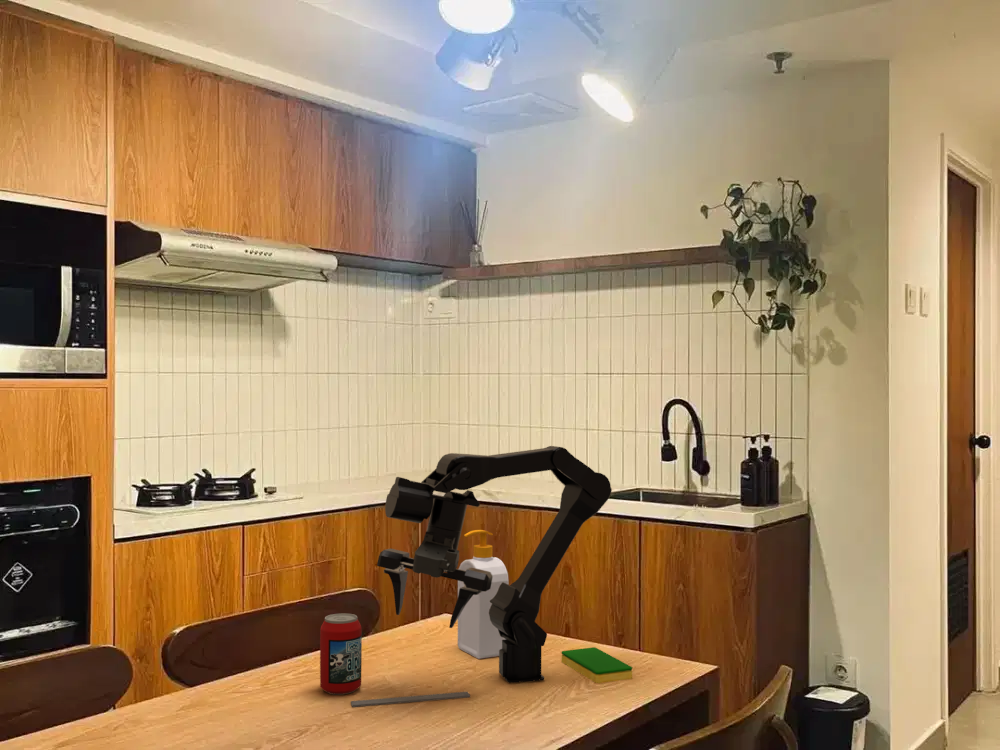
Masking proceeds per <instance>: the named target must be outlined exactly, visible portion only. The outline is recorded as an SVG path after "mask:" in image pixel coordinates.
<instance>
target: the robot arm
mask: <svg viewBox="0 0 1000 750" xmlns="http://www.w3.org/2000/svg"><path fill="white" fill-rule="evenodd" d="M439 459H440V460H438V462H437V463H436V464H437V465H436V468H435V469H434V470H433V471H432V472H431V473H429V474H428V475H427V476H426V477H425V478H424V479H423V480H422V481H421V482H419V481H415V480H410V479H408V478H405V477H401V476H396V477H395V480H394V483H393V484H392V486H391V488H390V490H389V493H388V494H387V495H386V497H385V498H386V499H385V506H384V512H385V516H386V518H390V519H395V520H400V521H405V522H409V523H410V522H411V523H416V524H421V523H423V522H424V520H428V523H427V527H426V531H425V534H424V538H423V540H422V541H421V543H420V545H419V546H417V549H416V550H415V551H414V558H413V557H410V552H407V551H404V550H399V549H395V548H387V549H383V550H382V551H380V553H379V554H378V559H377V564H376V566H377V567H380V568H384V569H383V574H387V575H388V576H389V578H390V581H391V585H392V590H393V596H394V607H395V614H396V615H397V616H400V614H401V611H402V608H403V604H404V597H405V592H406V585H407V580H408V575H409V574H408V573H409V571H408V570H405V569H409V570H412V571H413V573H415V574H419V575H420V574H424V575H428V576H430V577H432V578H435V579H437V578H440V577H441V578H446V579H450V580H454V581H455V580H456V581H457V582H458V581H462V582H464V587H462V588H460V590H459V595H458V594H457V600H456V603H455V606H454V607H453V608H454V609H453V611H452V615H451V617H450V622H449V625H448V626H449V629H453V628H454V625H455V624H456V622H458V617H459V616H460V614H461V612H462V610H463V609H464V607H465V605H466V604H467V603H468V601H469V600H470V599H471V597H472V596H473V595H478V594H479V593H481V592H482V591H485V592H486V591H487V590H489V589H490V588H491V583H492V577H493V576H492V574H491V572H488V571H484V570H480V569H476V568H472V567H471V568H469V569H467V570H466V571H464V570H460V569H459V568H458V565H459V560H460V550H458V548H459V543H460V540H461V536H462V530H463V526H464V521H465V517H466V512H467V508H468V506H472V507H476V508H478V507H480V505H481V503H480V502H479V501H478V499H477V498H476V496H475V494H474V491H472V490H469V489H473V488H475V487H478V486H481V485H484V484H486V483H488V482H489V481H491V480H495V479H498V478H504V477H505V478H506V477H511V476H518V475H524V474H533V473H539V472H546V471H550V472H551V473H552V474H553V475H554V477H555V478H556V479H557V480H558V481H559V482H560V483H561V484H562V485H563V486H564V487H563V490H562V492H561V496H560V497H561V498H560V505H559V510H558V512H557V513H556V515H555V517H554V518H553V520H552V522H551V524H550V526H549V527H548V529H547V530H546V532H545V534H544V535H543V537H542V539H541V540H540V542H539V544H538V545H537V547H536V549H535V551H534V552H533V554H532V556H530V558H529V560H528V562H527V564H526V565H525V567H524V568H523V570H522V572H521V573H520V575H519V577H518V578H517V579H516V580H515V581H514V582H512V583H511V584H509V585H508V584H506V583H504V582H503V583H502V584H501V585H500V587H499V589H498V591H497V594H496V595H495V596H494V598H493V599H491V600H490V603H492V605H491V607H490V609H489V616H490V621H491V623H492V625H494V626H495V627H496V628H497V629H498V631H499V634H500V636H501V637H503V638H505V639H506V640H502V649H500V650H499V656H498V673H499V674H500V676H501V677H502V678H503V679H504V680H505V681H506V682H507V683H508V684H515V683H516V684H517V683H519V684H520V683H528V682H540V681H541V682H542V681H543V682H544V681H545V679H546V678H545V676H544V675H543V674H542V647H543V646H545V643H546V640H547V636H548V633H547V632H546V631H545V630H544V629H543V628H542V627H541V626H540V625H539V623H537V622H536V620H537V617H538V615H539V612H540V607H541V599H542V594H543V591H544V590H545V588H546V586H547V585H548V584H549V581H550V580H551V578H552V576H553V575H554V573H555V572H556V569H557V568H558V566H559V565H560V563H561V561H562V559H563V558H564V556H565V554H566V552H567V551H568V549H569V548H570V546H571V544H572V542H573V541H574V540H575V537H576V536H577V534H578V532H579V530H581V527H582V526H583V524H584V523H585V522H586V521H588V520H589V519H591V517H593V516H594V515H596V514H597V513H598V512H599V511H601V508H602V507H603V506H604V505H605V504H606V503H607V502H608V501H609V499H610V497H611V495H612V492H613V491H612V487H611V486H612V485H611V482H610V479H609V478H608V477H607V476H606V475H605V474H603V473H602V472H596V471H594V470H593V469H592V468H591V467H590V466H588V465H587V464H585V463H584V462H582V461H581V460H580V459H578V458H577V457H575V456H574V455H573V454H571V452H570V451H569V450H568V449H566V448H564V447H562V446H555V445H548V446H547V447H543V448H536V449H528V450H520V451H519V450H518V451H514V452H506V453H497V454H492V455H491V454H490V455H486V454H485V455H483V454H482V455H481V454H469V453H457V452H456V453H455V452H454V453H453V452H451V453H447V454H444V455H443V456H441V457H440V458H439ZM454 490H458V491H465V492H463V493H461V492H457V491H456V492H455V491H454ZM434 492H437V493H443V495H440V494H434Z"/></svg>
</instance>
